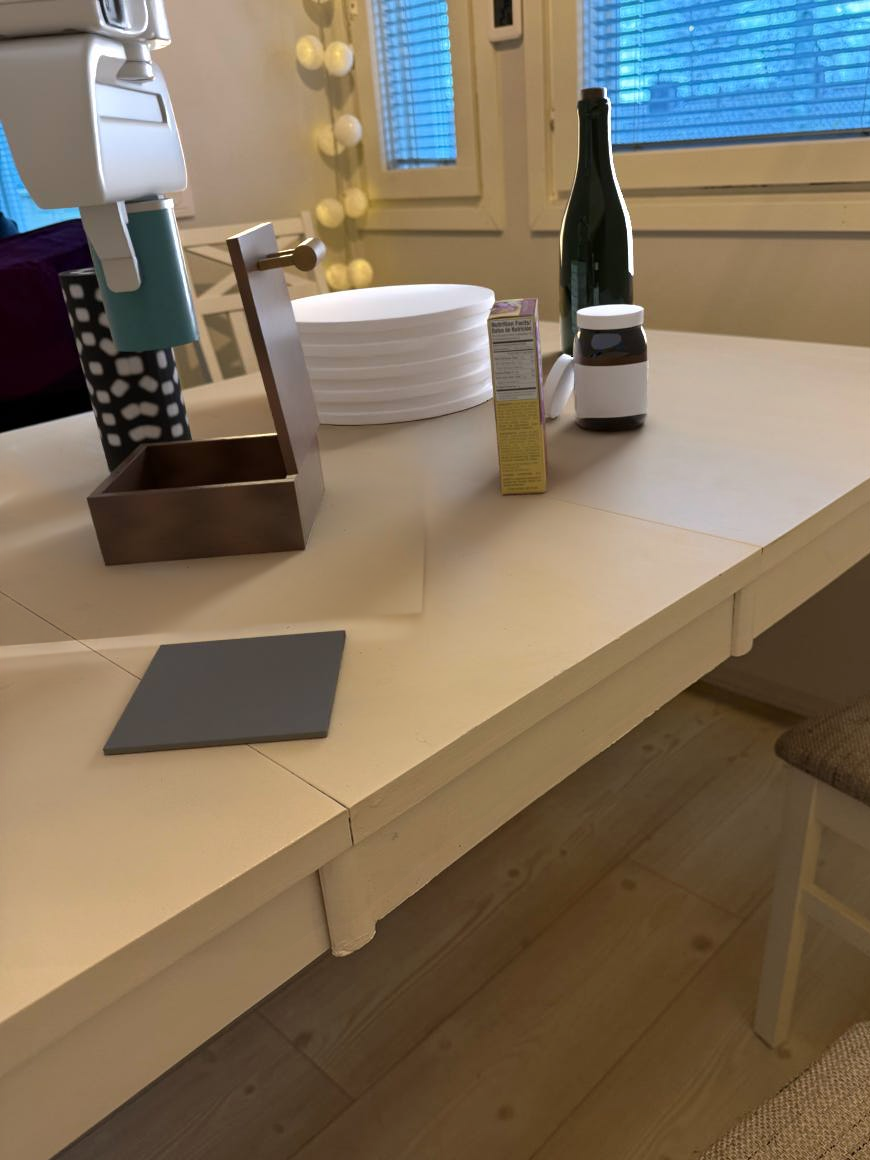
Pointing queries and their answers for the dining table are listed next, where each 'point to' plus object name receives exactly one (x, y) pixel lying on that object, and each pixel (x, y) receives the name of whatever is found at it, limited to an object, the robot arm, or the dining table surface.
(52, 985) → the dining table surface
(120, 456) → the spotted tube
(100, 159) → the robot arm
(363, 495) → the dining table surface
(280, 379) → the lid
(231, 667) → the mat
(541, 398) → the candy box
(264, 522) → the storage box
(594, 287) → the dark green wine bottle
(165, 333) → the can
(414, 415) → the plate stack
